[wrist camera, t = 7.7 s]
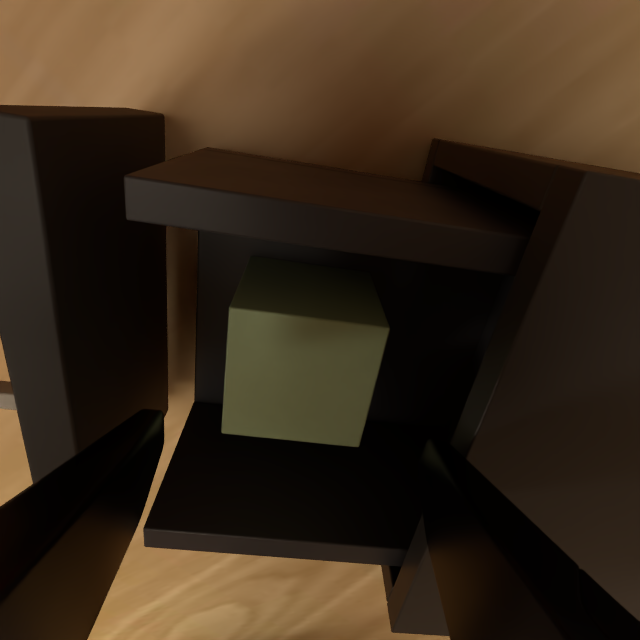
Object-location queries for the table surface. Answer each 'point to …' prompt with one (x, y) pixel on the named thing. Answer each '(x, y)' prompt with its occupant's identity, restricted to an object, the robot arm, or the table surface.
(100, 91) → the table surface
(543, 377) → the cabinet
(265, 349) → the block
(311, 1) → the table surface
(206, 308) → the drawer
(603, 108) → the table surface
